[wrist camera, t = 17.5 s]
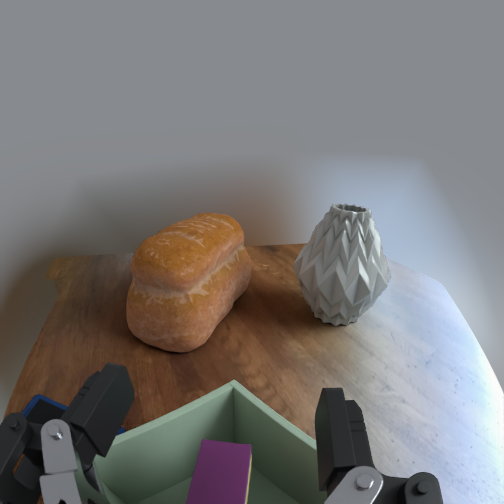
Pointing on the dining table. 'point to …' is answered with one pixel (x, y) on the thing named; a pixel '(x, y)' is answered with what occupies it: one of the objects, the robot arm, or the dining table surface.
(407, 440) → the dining table surface
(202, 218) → the bread
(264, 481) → the open storage box
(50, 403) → the cell phone
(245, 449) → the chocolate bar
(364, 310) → the vase
